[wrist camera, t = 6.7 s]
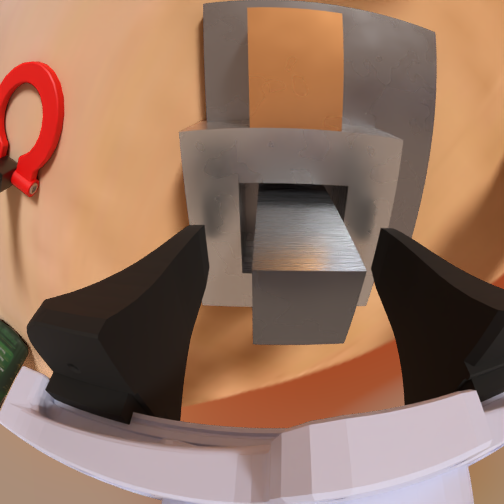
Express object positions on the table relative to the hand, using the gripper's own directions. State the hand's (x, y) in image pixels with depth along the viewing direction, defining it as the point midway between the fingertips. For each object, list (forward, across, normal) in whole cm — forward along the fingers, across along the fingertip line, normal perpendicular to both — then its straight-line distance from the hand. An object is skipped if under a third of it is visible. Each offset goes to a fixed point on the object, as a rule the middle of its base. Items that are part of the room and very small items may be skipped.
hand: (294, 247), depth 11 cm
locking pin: (+4, 0, 0) cm, 4 cm away
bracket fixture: (+5, -2, -3) cm, 6 cm away
